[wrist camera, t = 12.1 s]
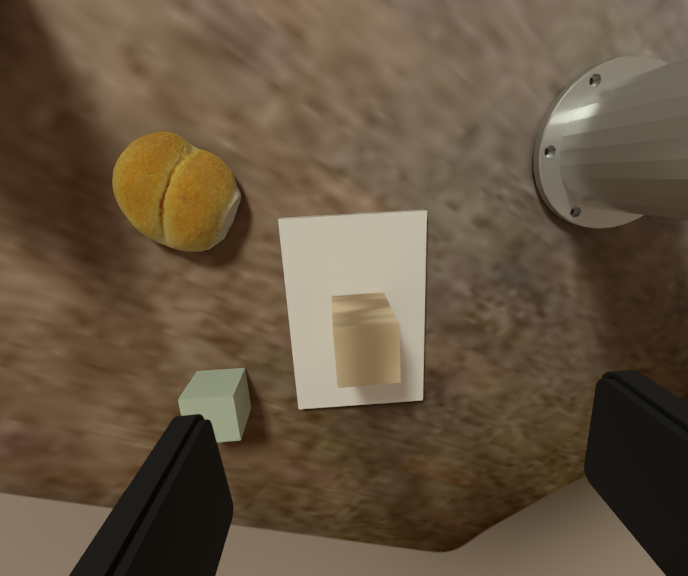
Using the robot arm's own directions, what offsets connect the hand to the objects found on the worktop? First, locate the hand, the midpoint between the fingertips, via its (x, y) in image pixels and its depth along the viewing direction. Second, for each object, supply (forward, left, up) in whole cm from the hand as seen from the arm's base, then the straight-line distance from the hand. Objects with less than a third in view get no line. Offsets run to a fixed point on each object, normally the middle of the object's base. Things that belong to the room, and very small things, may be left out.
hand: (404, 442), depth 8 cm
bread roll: (+13, -5, -23) cm, 27 cm away
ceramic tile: (0, +6, -23) cm, 23 cm away
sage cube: (+13, +13, -23) cm, 29 cm away
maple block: (0, +6, -22) cm, 22 cm away
